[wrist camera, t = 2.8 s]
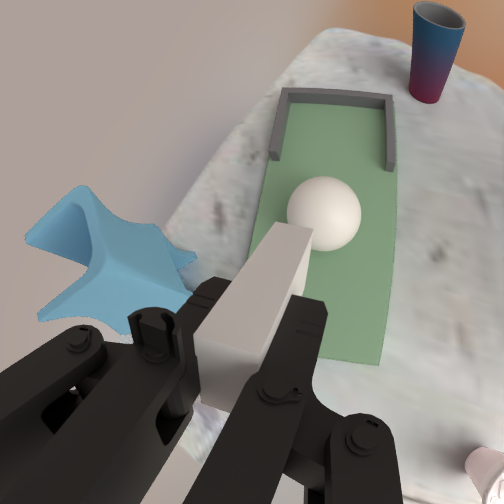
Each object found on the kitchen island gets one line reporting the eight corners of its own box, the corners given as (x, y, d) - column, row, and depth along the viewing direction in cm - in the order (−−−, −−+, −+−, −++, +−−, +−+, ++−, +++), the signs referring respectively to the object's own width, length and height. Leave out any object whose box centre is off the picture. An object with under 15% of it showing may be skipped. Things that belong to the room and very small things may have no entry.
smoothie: (478, 428, 24) (540, 461, 11) (506, 447, 22) (567, 479, 9) (444, 473, 24) (490, 525, 11) (475, 489, 21) (522, 537, 8)
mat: (377, 365, 30) (378, 365, 29) (234, 340, 34) (230, 340, 33) (392, 106, 38) (393, 101, 37) (283, 98, 42) (282, 93, 41)
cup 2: (450, 91, 36) (470, 17, 22) (436, 115, 36) (459, 36, 22) (412, 71, 39) (422, -4, 25) (396, 93, 38) (405, 12, 24)
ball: (371, 239, 33) (380, 211, 26) (311, 272, 33) (306, 253, 26) (336, 185, 35) (335, 149, 28) (280, 215, 36) (267, 185, 29)
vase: (145, 283, 39) (23, 234, 21) (194, 251, 39) (86, 176, 20) (168, 338, 36) (37, 323, 18) (222, 307, 36) (111, 266, 17)
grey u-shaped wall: (392, 172, 34) (395, 162, 32) (272, 160, 38) (268, 151, 36) (390, 105, 36) (392, 95, 34) (284, 97, 41) (282, 87, 39)
